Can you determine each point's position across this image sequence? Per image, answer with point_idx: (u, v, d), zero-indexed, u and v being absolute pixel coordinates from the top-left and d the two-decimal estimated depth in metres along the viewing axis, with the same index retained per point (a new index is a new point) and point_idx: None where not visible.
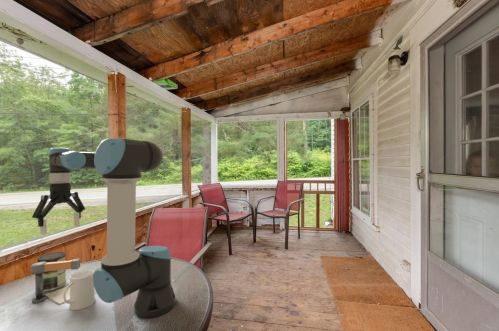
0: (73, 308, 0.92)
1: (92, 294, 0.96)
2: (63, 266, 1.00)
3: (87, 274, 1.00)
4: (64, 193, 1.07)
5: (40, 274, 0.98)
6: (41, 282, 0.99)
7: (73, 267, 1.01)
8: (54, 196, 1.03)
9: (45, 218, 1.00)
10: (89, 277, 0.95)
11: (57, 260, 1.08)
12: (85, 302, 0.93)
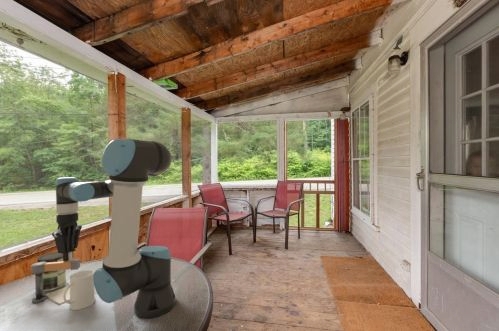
0: (73, 308, 0.92)
1: (92, 294, 0.96)
2: (63, 266, 1.00)
3: (87, 274, 1.00)
4: None
5: (40, 274, 0.98)
6: (41, 282, 0.99)
7: (73, 267, 1.01)
8: (63, 228, 1.00)
9: (70, 252, 1.03)
10: (89, 277, 0.95)
11: (57, 260, 1.08)
12: (85, 302, 0.93)
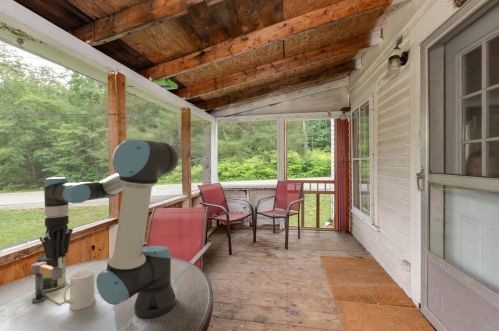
0: (73, 308, 0.92)
1: (92, 294, 0.96)
2: (48, 273, 0.94)
3: (87, 274, 1.00)
4: None
5: (40, 274, 0.98)
6: (41, 282, 0.99)
7: (52, 277, 0.92)
8: (52, 232, 0.93)
9: (59, 257, 0.96)
10: (89, 277, 0.95)
11: None
12: (85, 302, 0.93)
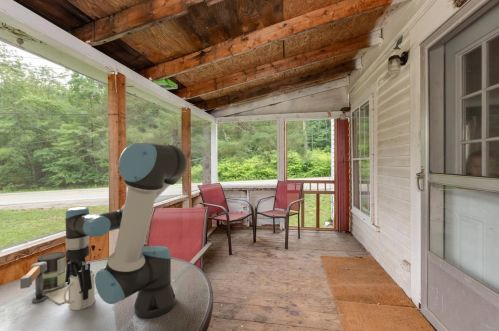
0: (73, 308, 0.92)
1: (92, 294, 0.96)
2: None
3: None
4: (76, 259, 0.93)
5: (40, 274, 0.98)
6: (41, 282, 0.99)
7: None
8: (71, 261, 0.95)
9: None
10: None
11: (57, 260, 1.08)
12: None
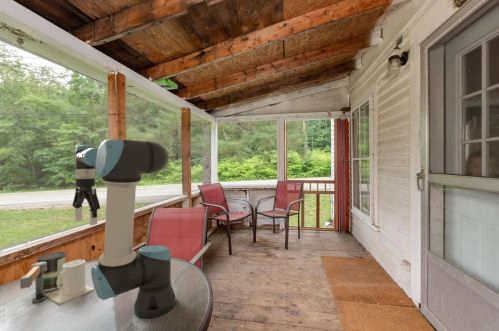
0: (65, 293, 1.01)
1: (83, 281, 1.06)
2: None
3: (79, 263, 1.09)
4: (84, 188, 1.11)
5: (40, 274, 0.98)
6: (41, 282, 0.99)
7: None
8: (79, 190, 1.13)
9: (76, 208, 1.15)
10: (80, 266, 1.04)
11: (57, 260, 1.08)
12: (77, 288, 1.03)
